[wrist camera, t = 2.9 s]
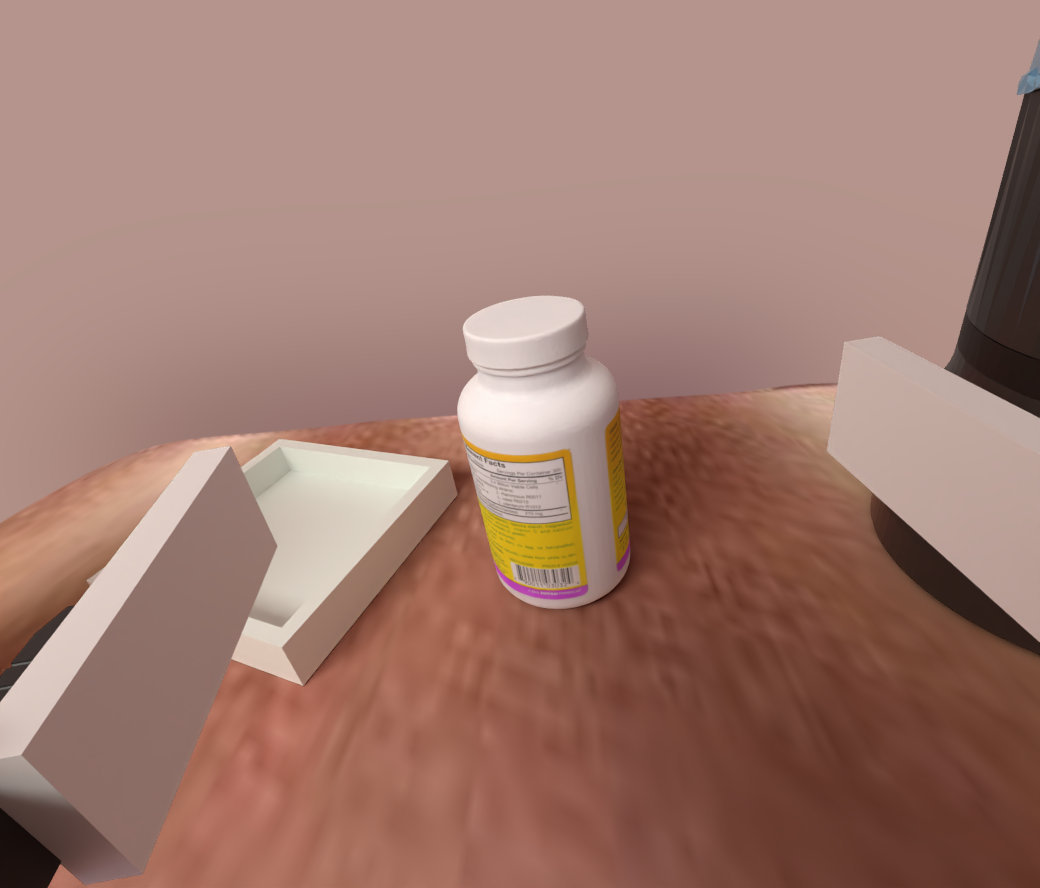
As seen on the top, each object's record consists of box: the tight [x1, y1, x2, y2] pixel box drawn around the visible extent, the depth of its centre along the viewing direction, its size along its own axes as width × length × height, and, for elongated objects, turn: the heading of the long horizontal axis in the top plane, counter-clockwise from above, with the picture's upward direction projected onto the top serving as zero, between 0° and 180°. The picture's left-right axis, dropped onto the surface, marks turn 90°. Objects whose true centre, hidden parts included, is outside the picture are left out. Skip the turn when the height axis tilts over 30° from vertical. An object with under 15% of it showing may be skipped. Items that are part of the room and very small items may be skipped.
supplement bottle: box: [457, 296, 630, 609], centre depth 25 cm, size 7×7×13 cm
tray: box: [86, 439, 458, 686], centre depth 31 cm, size 14×14×2 cm
